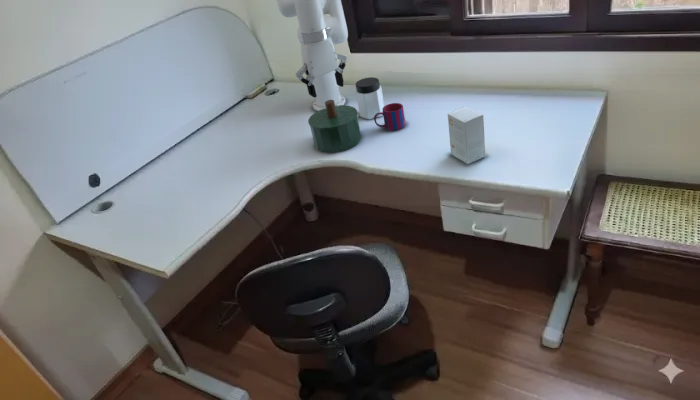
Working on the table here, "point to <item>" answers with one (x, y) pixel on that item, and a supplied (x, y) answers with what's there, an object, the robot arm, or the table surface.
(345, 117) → the tin lid
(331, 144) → the tin
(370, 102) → the jar
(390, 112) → the mug
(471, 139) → the small box
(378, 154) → the table surface
